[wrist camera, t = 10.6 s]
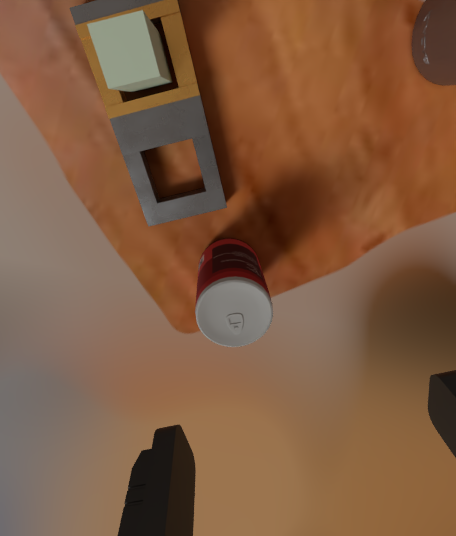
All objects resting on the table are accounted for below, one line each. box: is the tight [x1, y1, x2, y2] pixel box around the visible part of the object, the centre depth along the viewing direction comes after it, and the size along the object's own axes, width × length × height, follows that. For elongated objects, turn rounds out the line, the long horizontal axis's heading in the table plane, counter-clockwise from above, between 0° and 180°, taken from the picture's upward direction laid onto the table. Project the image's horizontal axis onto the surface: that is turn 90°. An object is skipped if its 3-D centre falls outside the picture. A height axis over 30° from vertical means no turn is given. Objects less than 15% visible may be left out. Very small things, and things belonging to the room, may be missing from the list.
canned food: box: [195, 238, 273, 347], centre depth 37 cm, size 8×8×11 cm
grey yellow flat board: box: [70, 0, 227, 226], centre depth 33 cm, size 9×20×2 cm, turn 13°
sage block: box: [87, 10, 173, 92], centre depth 27 cm, size 4×4×9 cm
